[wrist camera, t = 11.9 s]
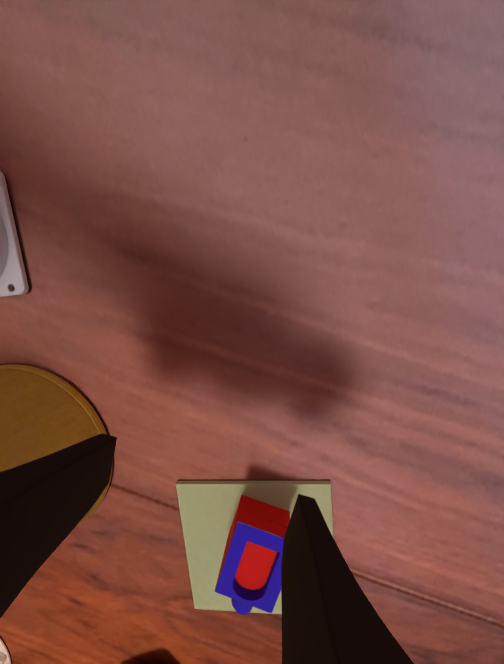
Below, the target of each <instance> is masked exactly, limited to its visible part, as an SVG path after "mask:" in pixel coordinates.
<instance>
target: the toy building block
mask: <svg viewBox="0 0 504 664" xmlns="http://www.w3.org/2000/svg"><path fill="white" fill-rule="evenodd" d="M289 521H290V511H287V510H284V509H281V508H278V507H275V506H273V505H270V504H267V503H264V502H261V501H259V500H256V499H253V498H250V497H247V496H245V495H242V494H241V498H240V501H239V504H238V507H237V510H236V513H235V516H234V519H233V522H232V525H231V528H230V531H229V534H228V538H227V542H226V546H225V550H224V554H223V558H222V562H221V567H220V571H219V575H218V579H217V583H216V587H215V591H214V592H216V593H219V594H221V595H224V596H227V597H229V598H231V602H232V606H233V608H234V609H235V610H236V611H237V612H238V613H240V614H247V613H249V612H250V611H251V610H252V607H255V608H258V609H261V610H263V611H266V612H268V613H271V614H272V611H273V609H274V606H275V604H276V601H277V599H278V596H279V594H280V591H281V565H282V553H283V542H284V537H285V533H286V530H287V527H288V524H289Z"/></svg>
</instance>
